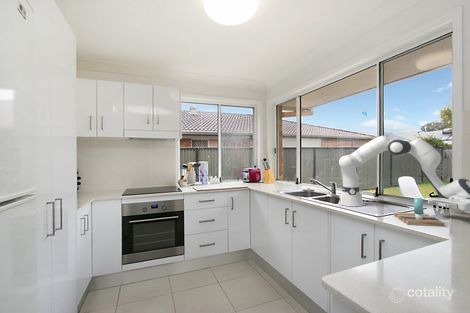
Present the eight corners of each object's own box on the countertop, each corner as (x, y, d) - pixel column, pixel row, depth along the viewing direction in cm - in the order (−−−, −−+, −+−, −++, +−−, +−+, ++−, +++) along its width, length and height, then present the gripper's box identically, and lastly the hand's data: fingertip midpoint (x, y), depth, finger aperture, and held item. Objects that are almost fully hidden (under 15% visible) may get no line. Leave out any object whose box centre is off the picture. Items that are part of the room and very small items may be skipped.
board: (393, 215, 138) (393, 211, 138) (424, 216, 133) (424, 213, 133) (407, 224, 119) (407, 220, 119) (444, 226, 114) (444, 222, 114)
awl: (413, 220, 126) (412, 197, 126) (421, 221, 125) (420, 198, 125) (416, 222, 122) (415, 199, 122) (425, 223, 121) (424, 199, 121)
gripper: (439, 194, 137) (419, 195, 135) (479, 200, 117) (457, 202, 115) (439, 204, 137) (420, 206, 135) (480, 212, 117) (457, 214, 115)
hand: (437, 204), depth 125 cm, fingers open, 8 cm apart
